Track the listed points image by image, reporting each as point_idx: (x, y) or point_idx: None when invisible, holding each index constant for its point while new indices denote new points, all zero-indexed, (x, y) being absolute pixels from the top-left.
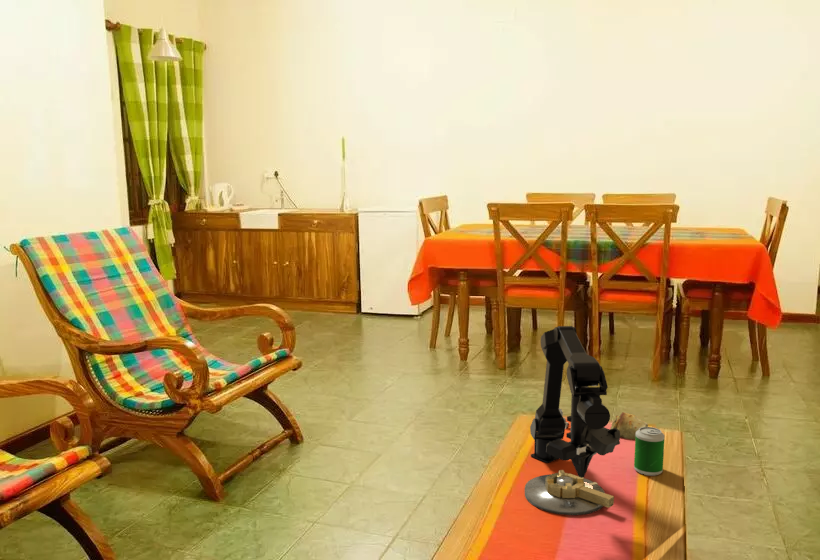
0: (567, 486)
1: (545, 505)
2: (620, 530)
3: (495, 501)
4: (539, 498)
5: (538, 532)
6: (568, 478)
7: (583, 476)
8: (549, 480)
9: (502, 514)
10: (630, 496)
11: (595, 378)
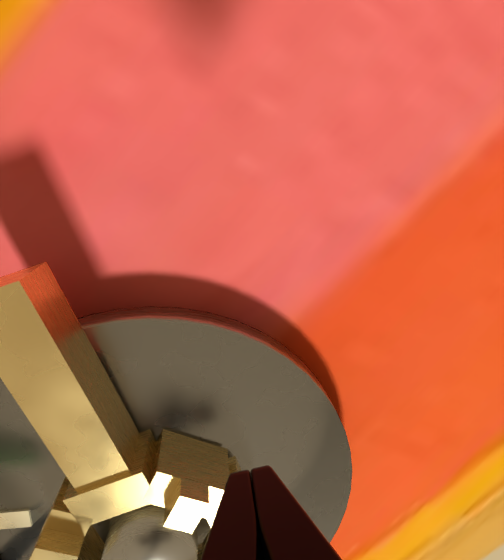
0: (205, 498)
1: (340, 423)
2: (112, 66)
3: (439, 524)
4: (320, 481)
5: (496, 263)
6: None
7: (247, 474)
8: None
9: (493, 439)
10: None
11: None
